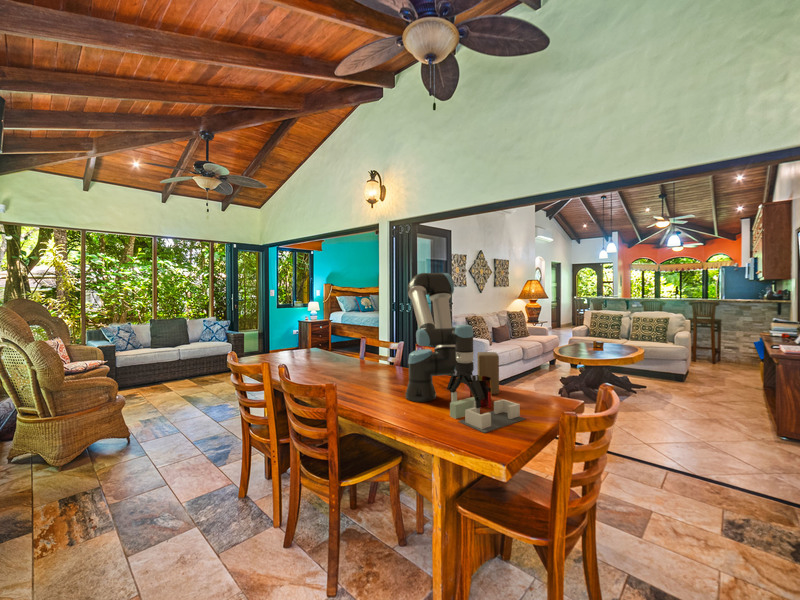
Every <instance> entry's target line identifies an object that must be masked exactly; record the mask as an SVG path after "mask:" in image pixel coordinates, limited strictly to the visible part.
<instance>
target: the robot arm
mask: <svg viewBox="0 0 800 600" xmlns="http://www.w3.org/2000/svg"><path fill="white" fill-rule="evenodd" d="M454 284H455V283H454V279H453V276H452V275H451V274H450V273H449V272H422V273H418V274H416V275H414V276H413V277H412V278H411V280H409V282H408V285H407V295H408V298H409V299H410V300H411V303H412V308H413V311H414V315H415V319H416V322H417V326H418V329H417V330H416V332H415V338H416V339H415V340H416V344H417V345H418V346H419V347H420V346H422V347H428V346H432V347H433V346H435V347H434V349H433V350H434V351H432V349H428V348H426V349H425V348H424V349H418V350H413V351H411V352H410V353H409V354H408V362H407V364H408V384H407V387H406V391H405V399H406V400H408V401H410V402H415V403H417V402H419V403H425V402H432V401H434V400H436V399H437V392H436V389H435V386H434V383H433V377H438V376H450V378H449V381H448V384H447V387H446V390H447V391H449V393H450V399H451V401H450V403H451V402H455V401H458V392H457V389H458V388H459V386H460V385H461V384H464V385H466V386H467V387H468V389H469V391H470V390H471V392H472V394H473V396H474V398H475V400H474V407H475V408H477V413H478V414H481V408H482V407H481V399H485V396H484V394H483V391H482V388H481V385H480V382H479V377H478V374H474V373H473V372H474V370H475V369H474V368H475V367H474V362H473V361H474V329H473V328H474V327H473V326H472V325H470V324H458V325H456V326H453V327H452V325H453V324H452V317H451V310H450V309H451V308H450V298H451V297H452V295H453V294H454V291H455V285H454ZM427 296H428V297H429V298H427ZM428 299H429V300H430V301H432V310H433V316H432V311H431V309H430V305H429V301H428ZM470 382H471V383H470ZM477 396H478V397H477Z"/></svg>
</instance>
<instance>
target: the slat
mask: <svg viewBox="0 0 800 600" xmlns="http://www.w3.org/2000/svg"><path fill="white" fill-rule="evenodd" d="M474 400H475V398H474V397H471V398H470V397H468V398H464V399H459V400H457V401H455V402H451V401H450V402H449V417H451V418H452V419H455V420H457V419H460V418H465V410H466V409H470V408H474Z"/></svg>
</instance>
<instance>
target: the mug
mask: <svg viewBox="0 0 800 600" xmlns="http://www.w3.org/2000/svg"><path fill="white" fill-rule="evenodd" d="M478 377H479V382H480V385H481V388H482V391H483V394H484V396H485V399H481V407H480V408H489V409H491V408H492V394H491V378H490V377H487V376H478ZM470 383H471V382H470ZM471 397H474V396H473V394H472V392H471V390H470V389H469V398H471ZM477 397H478V396H477Z"/></svg>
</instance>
